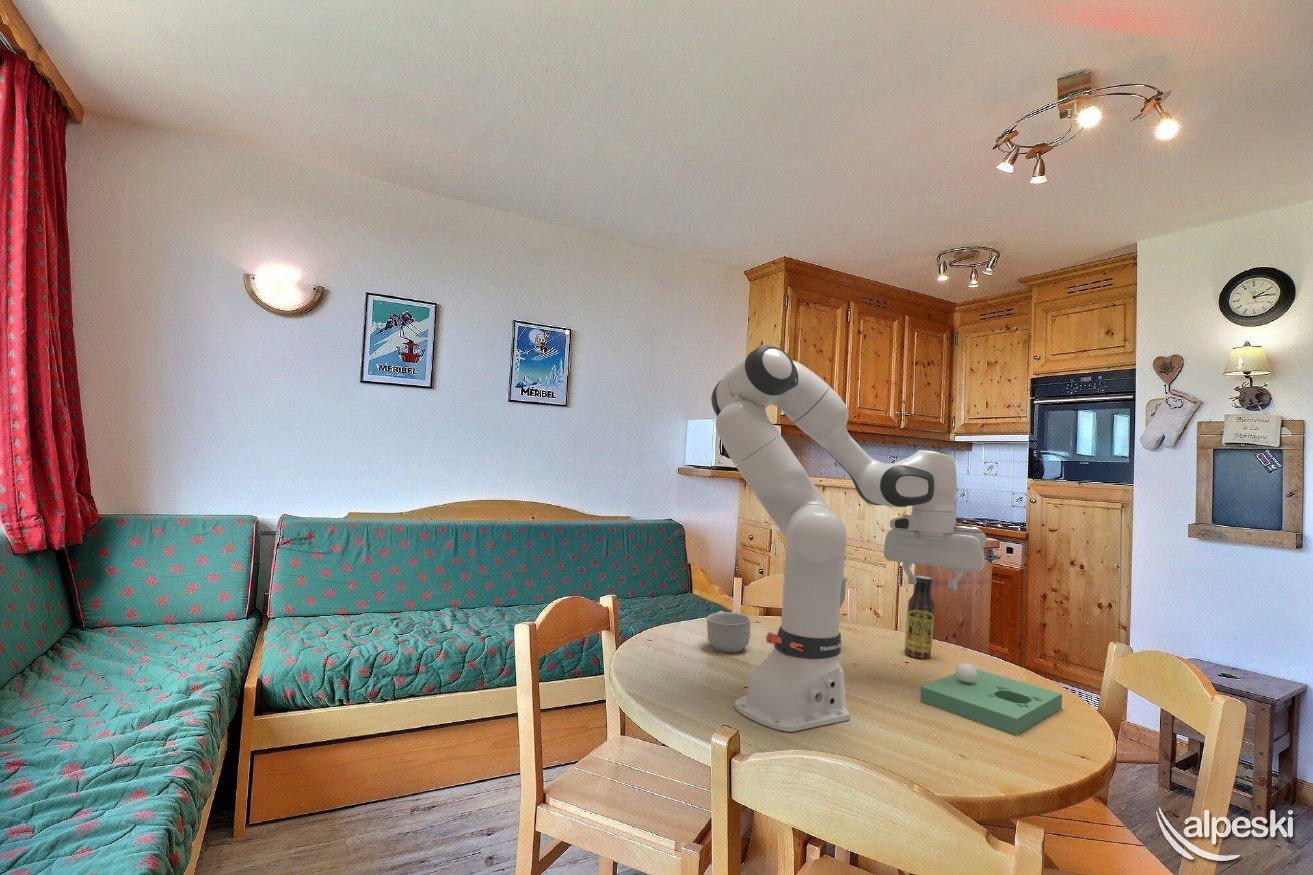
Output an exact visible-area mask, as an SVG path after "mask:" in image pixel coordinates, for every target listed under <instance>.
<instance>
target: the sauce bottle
mask: <svg viewBox="0 0 1313 875" xmlns="http://www.w3.org/2000/svg"><path fill="white" fill-rule="evenodd" d="M916 576H917V579H916V584H914V589H913V594H912V595H911V597H910V598H909V600H908V606H907V612H906V624H905V626H906V627H905V639H904V647H905V648H904V652H905V654H906V655H907V656H909V657H911V658H915V659H924V660H926V659H927V660H928V659H929V658H930V657H931V654H932V650H933V649H932V647H933V637H934V636H933V635H934V624H935V623H934V621H935V616H934V615H935V603H934V601H933V599H932V596H931V590H932V589H931V588H932V587H931V586H932V584H933V582H932V581H933V578H932V577H929V576H925V575H916Z"/></svg>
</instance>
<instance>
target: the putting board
mask: <svg viewBox="0 0 1313 875" xmlns="http://www.w3.org/2000/svg"><path fill="white" fill-rule="evenodd" d="M975 669H976V671H977V678H976V680H975V681H974V682H972V683H965V682H962V681H961V680H960V679H959V678H958V677H957V675H956V672H955V673H953V674H951V675H947V676H945V677H943V678H940V679H937V680H935V681H932V682H929V683H927V684H923V685H921V686H920V696H919V697H920V699H919V700H920V701H919V702H920V703H923V704H926V705H929V706H932V707H934V708H938V709H940V710H942V711H945V712H949V713H952V714H954V715H957V716H960V717H962V716H963V718H966V719H968V720H971V721H973V722H977V723H980V724H982V725H985V726H988V727H990V728H993V727H994V729H996V728H997V730H999V729H1000V731H1002V732H1005V733H1007V732H1009V733H1008V734H1010V733H1011V735H1013V734H1015V735H1014V736H1016V735H1017V734H1018V735H1020V734H1022V733H1023V732H1025V731H1026V729H1027V730H1028V728H1029V727H1030V728H1032V727H1034V726H1036V725H1037V724H1039V723H1041V722H1043V720H1045V719H1047V718H1048V716H1049V717H1051V716H1052V715H1054V714H1055V712H1056V713H1057V712H1059V711H1061V710H1062V708H1063V705H1062V704H1063V694H1062V693H1060V692H1057V691H1053V690H1049V689H1045V688H1044V687H1043V688H1042V687H1039V686H1035V685H1032V684H1028V683H1025V682H1023V681H1020V680H1015V679H1011V678H1008V677H1004V676H1000V675H998V674H995V673H990V672H988V671H984V670H982V669H981V670H980V669H977V668H975ZM1033 725H1034V726H1033ZM1030 728H1029V729H1030ZM1021 732H1022V733H1021ZM1018 735H1017V736H1018Z"/></svg>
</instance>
